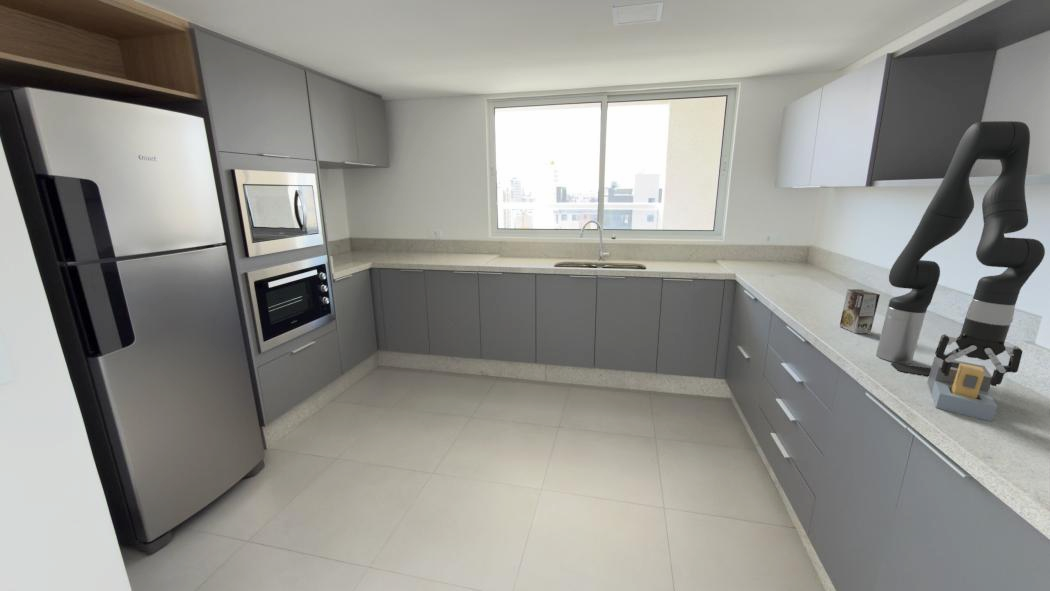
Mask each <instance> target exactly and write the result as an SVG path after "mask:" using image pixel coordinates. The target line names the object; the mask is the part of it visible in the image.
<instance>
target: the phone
mask: <svg viewBox="0 0 1050 591" xmlns="http://www.w3.org/2000/svg"><path fill="white" fill-rule="evenodd" d="M890 365H891V367H893V368H894V369H895V371H897V372H899V373H902V372H903V373H904V374H908V373H910V374H909V375H915V374H917V375H916V376H921V375H923V377H928V376H929V374H930V371H931V367H925V366H919V365H911V364H906V363H897V362H891V363H890ZM903 373H902V374H903Z"/></svg>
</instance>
